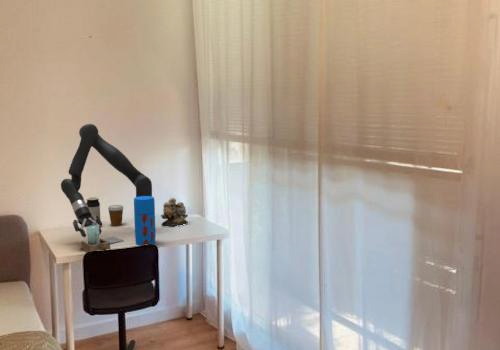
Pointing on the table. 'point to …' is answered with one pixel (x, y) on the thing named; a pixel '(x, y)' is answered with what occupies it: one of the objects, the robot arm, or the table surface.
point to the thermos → (144, 220)
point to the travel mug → (93, 206)
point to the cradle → (95, 246)
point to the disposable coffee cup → (116, 214)
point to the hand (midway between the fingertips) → (92, 235)
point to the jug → (93, 234)
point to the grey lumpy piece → (174, 213)
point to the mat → (113, 240)
